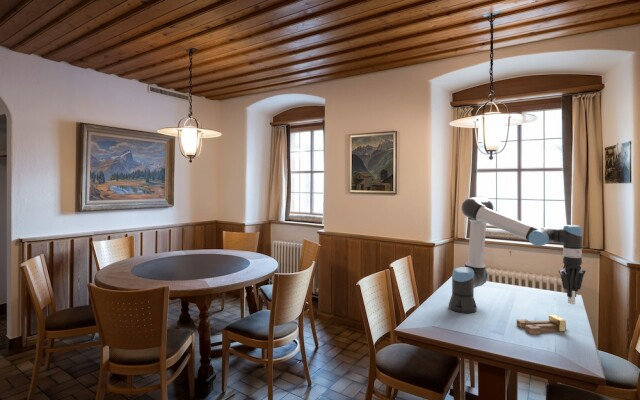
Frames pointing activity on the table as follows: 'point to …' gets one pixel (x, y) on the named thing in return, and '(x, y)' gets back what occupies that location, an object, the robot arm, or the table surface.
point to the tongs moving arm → (531, 322)
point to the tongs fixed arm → (541, 328)
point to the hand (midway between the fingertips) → (571, 303)
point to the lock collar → (558, 322)
